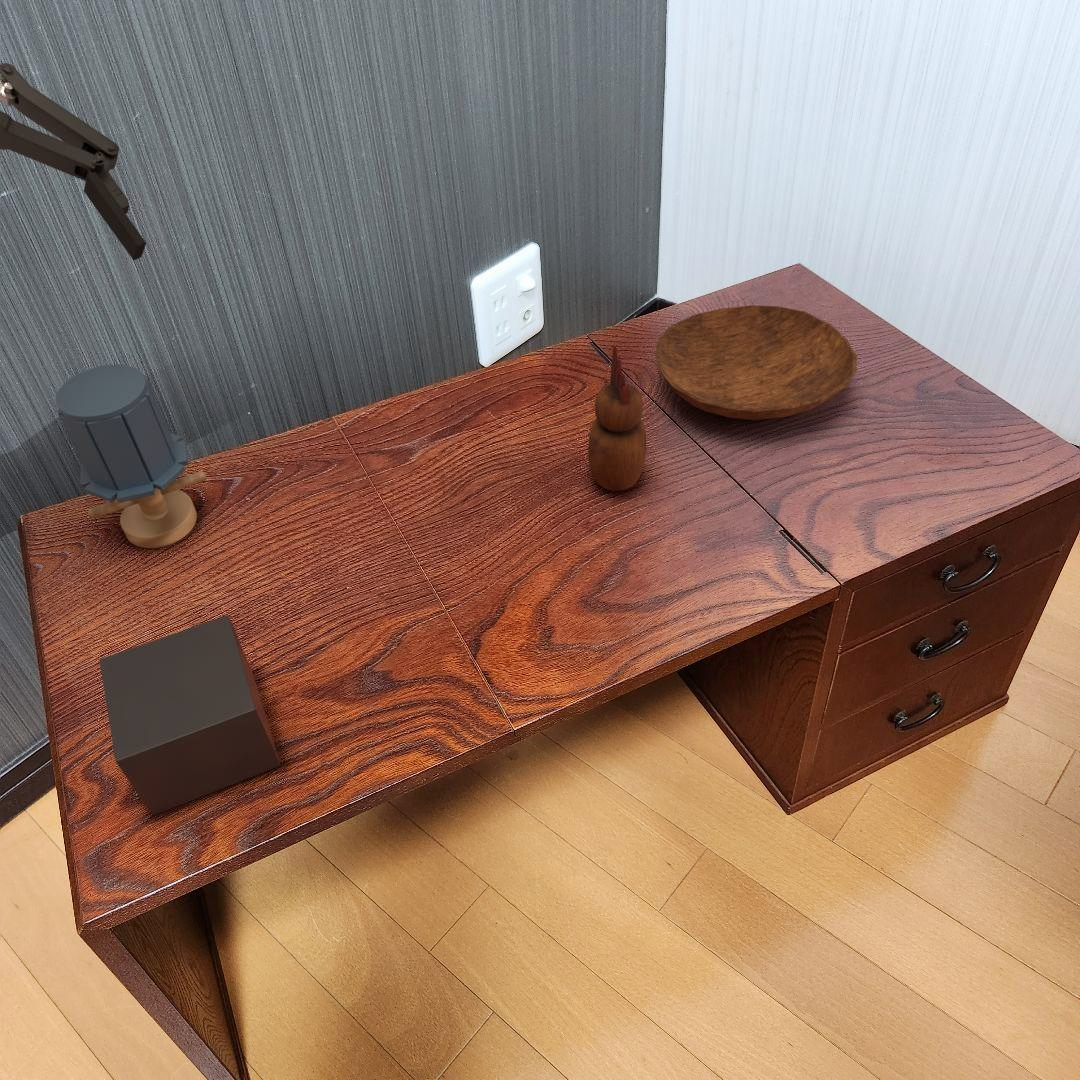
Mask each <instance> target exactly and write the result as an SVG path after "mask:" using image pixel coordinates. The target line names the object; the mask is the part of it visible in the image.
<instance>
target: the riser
mask: <svg viewBox="0 0 1080 1080" xmlns="http://www.w3.org/2000/svg"><path fill="white" fill-rule="evenodd" d="M241 644H242V643H241V642H240V639H239V637H238V635H237V632H236V630H235V627H234V626H233V623H232V620H231V618H230V616H229V615H228V614H227V615H224V616H221V617H218V618H215V619H212V620H209V621H206V622H203V623H200V624H198V625H194V626H192V627H189V628H185V629H182V630H179V631H178V632H177V631H176V632H175V633H171V634H168V635H165V636H163V637H160V638H157V639H154V640H151V641H148V642H145V643H142V644H139V645H136V646H133V647H131V648H128V649H125V650H122V651H119V652H116V653H113V654H110V655H107V656H104V657H102V658H99V666H100V667H99V668H100V673H101V679H102V687H103V691H104V692H103V693H104V698H105V704H106V710H107V718H108V723H109V730H110V735H111V742H112V747H113V748H112V749H113V756H114V760H115V763H116V764H117V766H118V767H119V769H120V770H121V772H122V774H124V776H125V778H126V779H127V780H128V782H129V784H130V785H131V786H132V788H133V789H134V791H135V793H136V794H137V796H138V797H139V798H140V800H141V801H142V802H143V804H144V805H145V807H146V809H147V811H149V813H150V814H151V816H152V817H154V816H156V815H159V814H162V813H164V812H167V811H169V810H173V809H174V808H177V807H179V806H182V805H185V804H187V803H189V802H192V801H195V800H197V799H200V798H203V797H205V796H207V795H210V794H213V793H215V792H218V791H220V790H223V789H225V788H228V787H230V786H233V785H236V784H238V783H240V782H243V781H245V780H248V779H251V778H253V777H256V776H259V775H261V774H264V773H266V772H269V771H271V770H274V769H276V768H279V767H281V765H282V764H281V761H280V757H279V754H278V751H277V748H276V745H275V741H274V738H273V735H272V732H271V728H270V725H269V722H268V717H267V714H266V712H265V707H264V705H263V701H262V698H261V696H260V695H261V694H260V691H259V689H258V685H257V681H256V678H255V674H254V672H253V670H252V668H251V665H250V663H249V660H248V658H247V656H246V653H245V651H244V649H243V646H242V645H241Z"/></svg>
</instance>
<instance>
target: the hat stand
mask: <svg viewBox="0 0 1080 1080" xmlns="http://www.w3.org/2000/svg"><path fill="white" fill-rule="evenodd" d="M207 477H208V476H207V474H206V472H205V471H196V472H195V473H191V474H188V475H186V476H182V477H178V478H176V479H175V480H174V481H173V482H172V483H171V484H170V485H169V486H168V487H166V488H165V489H164V490H163V491H162V490H159V489H157V488H155V495H152V496H148V497H143V498H139V499H135V500H130V501H126V502H122V503H119V501H118V499H115V500H114V501H113V502H112V503H111V502H108V501H107V502H105V503H103V504H99V505H97V506H93V507H90V508H89V509H88V511H87V515H88V517H89V518H91V519H96V518H97V519H98V518H100V517H102V516H105V515H108V514H111V513H114V512H117V511H120V510H122V511H121V513H120V517H119V520H120V521H119V522H120V526H121V529H122V532H123V533H124V535H125V537H126V539H127V540H128V541H129V542H130V543H131V544H133V545H134V546H137V547H138V548H143V549H157V548H163V547H166V546H170V545H173V544H175V543H176V542H179V541H180V540H182V539H183V538H185V537H186V536H187V535H188V534H189V533H191V531H192V530H193V528H194V527H195V525H196V523H197V520H198V519H197V518H198V513H197V510H196V508H195V505H194V503H193V500H192V499H191V497H190V496H189V494H187V493H186V492H184V491H182V490H181V489H185V488H188V487H191V486H193V485H196V484H199V483H202V482H204V481H206V480H207Z"/></svg>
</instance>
